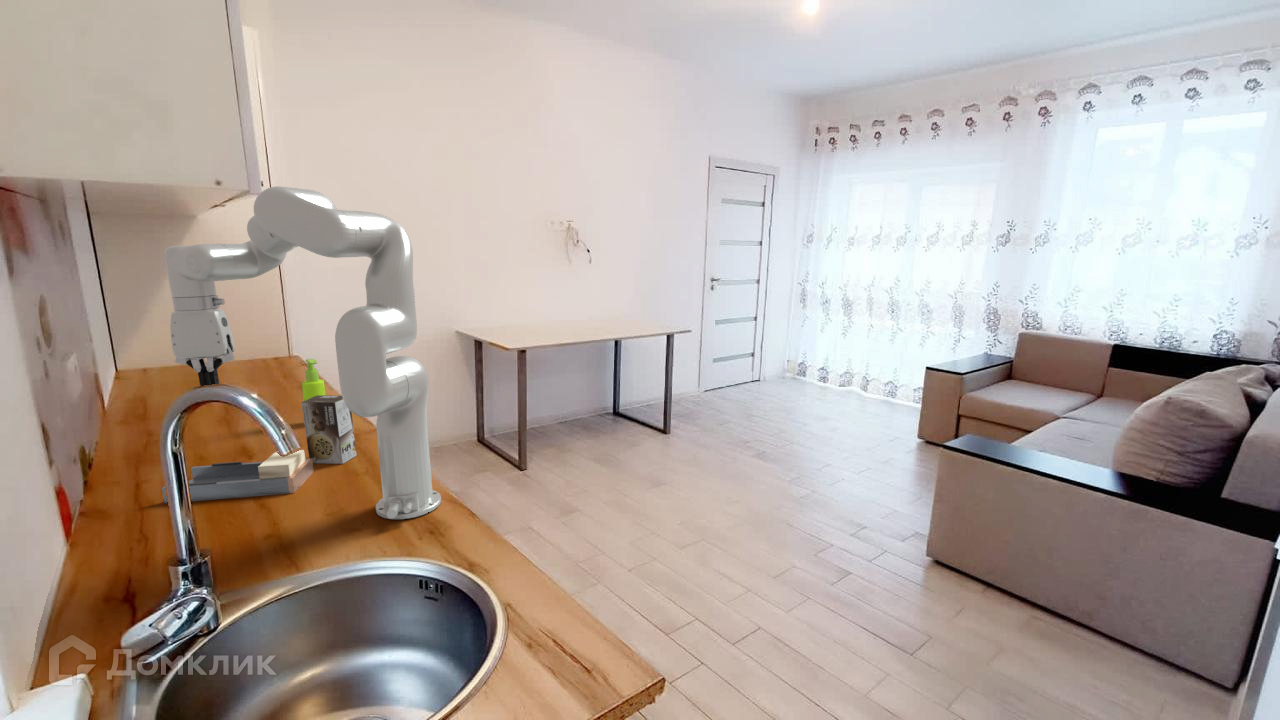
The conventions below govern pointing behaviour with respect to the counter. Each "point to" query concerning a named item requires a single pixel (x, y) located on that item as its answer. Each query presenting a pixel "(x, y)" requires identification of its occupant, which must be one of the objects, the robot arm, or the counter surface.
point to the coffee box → (329, 429)
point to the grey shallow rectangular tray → (241, 481)
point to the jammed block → (281, 465)
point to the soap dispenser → (312, 382)
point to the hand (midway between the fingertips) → (210, 388)
